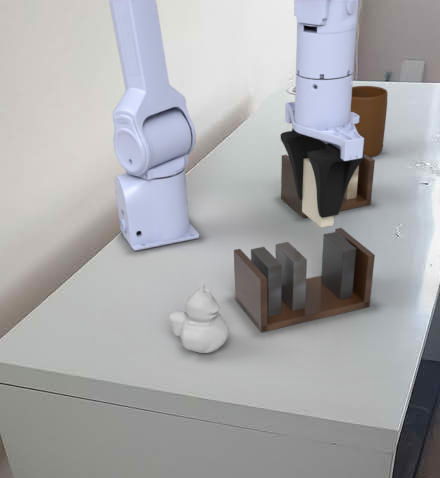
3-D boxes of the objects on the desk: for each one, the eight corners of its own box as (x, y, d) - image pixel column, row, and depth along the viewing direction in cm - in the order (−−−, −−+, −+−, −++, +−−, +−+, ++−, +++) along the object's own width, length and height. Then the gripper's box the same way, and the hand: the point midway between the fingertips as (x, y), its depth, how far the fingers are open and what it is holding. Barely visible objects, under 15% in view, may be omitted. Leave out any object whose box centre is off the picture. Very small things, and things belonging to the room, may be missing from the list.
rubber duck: (218, 365, 75) (214, 296, 70) (162, 354, 77) (154, 287, 72) (237, 339, 79) (234, 272, 74) (182, 329, 81) (176, 263, 76)
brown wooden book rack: (303, 218, 102) (305, 170, 98) (280, 199, 108) (281, 152, 103) (370, 205, 105) (375, 157, 100) (345, 186, 110) (348, 140, 106)
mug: (307, 157, 121) (309, 97, 115) (315, 142, 126) (317, 84, 120) (380, 160, 118) (386, 98, 112) (384, 145, 123) (390, 85, 117)
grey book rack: (261, 332, 80) (260, 276, 75) (235, 300, 85) (233, 246, 81) (369, 306, 83) (375, 251, 78) (337, 277, 89) (341, 224, 84)
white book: (320, 228, 80) (323, 173, 76) (301, 211, 83) (303, 158, 79) (333, 225, 80) (337, 170, 76) (314, 209, 84) (316, 156, 80)
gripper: (397, 84, 67) (381, 223, 76) (328, 52, 78) (321, 179, 87) (329, 94, 66) (321, 236, 75) (268, 60, 76) (268, 188, 85)
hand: (318, 206), depth 81 cm, fingers closed on white book, 5 cm apart
